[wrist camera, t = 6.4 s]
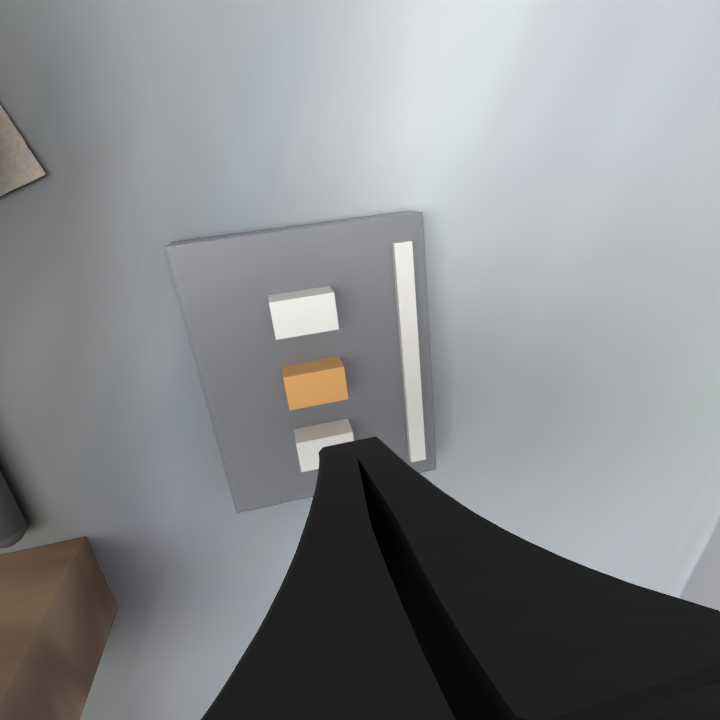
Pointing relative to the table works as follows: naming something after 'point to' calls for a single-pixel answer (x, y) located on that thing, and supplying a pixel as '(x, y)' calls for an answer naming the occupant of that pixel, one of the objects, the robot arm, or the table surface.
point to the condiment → (15, 158)
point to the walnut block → (51, 629)
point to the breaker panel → (309, 346)
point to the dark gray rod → (9, 517)
